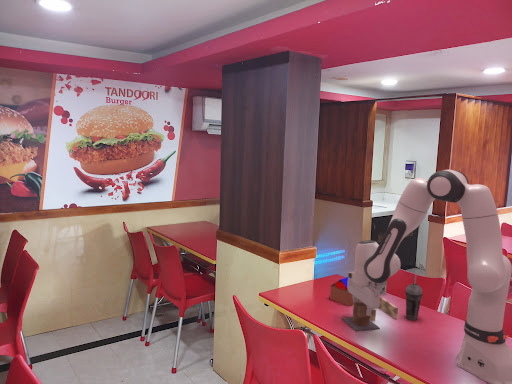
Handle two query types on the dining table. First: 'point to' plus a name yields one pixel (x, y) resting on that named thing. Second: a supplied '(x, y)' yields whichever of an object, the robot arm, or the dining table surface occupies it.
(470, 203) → the robot arm
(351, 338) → the dining table surface
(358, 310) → the block
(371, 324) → the mat
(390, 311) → the wooden open frame
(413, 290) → the beverage cup
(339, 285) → the house
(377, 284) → the coffee box
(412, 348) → the dining table surface
